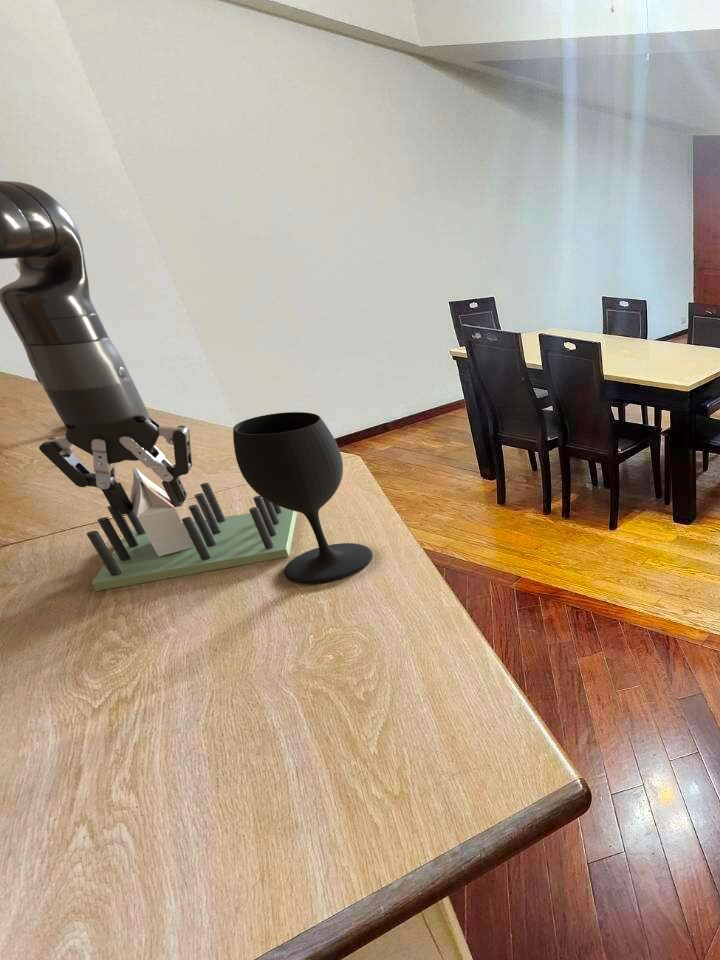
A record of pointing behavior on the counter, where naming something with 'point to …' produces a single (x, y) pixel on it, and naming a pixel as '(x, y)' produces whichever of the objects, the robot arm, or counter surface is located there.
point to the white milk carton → (158, 516)
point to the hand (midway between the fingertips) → (153, 507)
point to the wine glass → (299, 485)
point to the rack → (194, 542)
